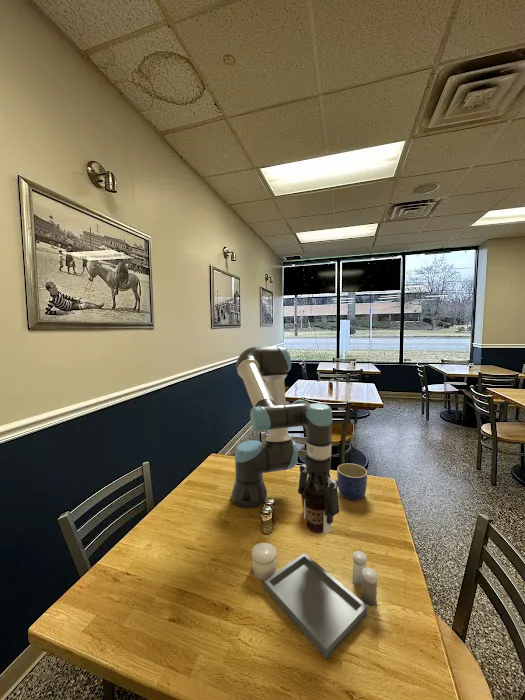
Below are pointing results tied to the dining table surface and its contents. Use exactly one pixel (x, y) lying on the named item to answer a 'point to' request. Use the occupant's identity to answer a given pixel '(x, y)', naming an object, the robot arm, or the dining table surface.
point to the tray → (316, 603)
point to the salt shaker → (358, 566)
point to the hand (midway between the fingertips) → (316, 524)
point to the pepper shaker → (369, 586)
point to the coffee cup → (314, 509)
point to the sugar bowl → (264, 560)
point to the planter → (352, 480)
